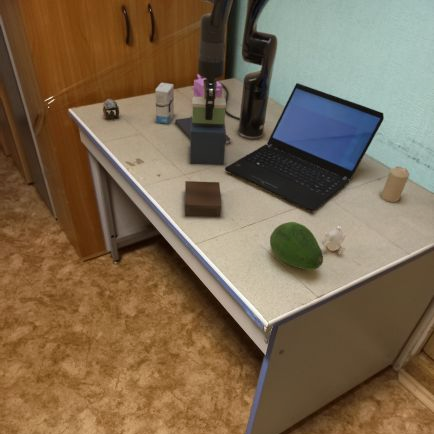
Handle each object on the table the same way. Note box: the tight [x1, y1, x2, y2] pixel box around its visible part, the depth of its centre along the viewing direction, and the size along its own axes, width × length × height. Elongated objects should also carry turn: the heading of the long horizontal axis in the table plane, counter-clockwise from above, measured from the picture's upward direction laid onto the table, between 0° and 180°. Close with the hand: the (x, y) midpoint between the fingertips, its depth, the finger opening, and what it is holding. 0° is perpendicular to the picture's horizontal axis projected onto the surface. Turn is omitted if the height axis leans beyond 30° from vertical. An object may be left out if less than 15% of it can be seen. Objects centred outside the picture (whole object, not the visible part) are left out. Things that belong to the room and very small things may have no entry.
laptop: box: [224, 82, 385, 213], centre depth 133 cm, size 33×38×19 cm
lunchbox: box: [191, 95, 227, 124], centre depth 132 cm, size 6×10×6 cm, turn 93°
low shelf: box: [184, 180, 222, 218], centre depth 121 cm, size 12×10×4 cm
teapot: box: [191, 74, 223, 98], centre depth 171 cm, size 18×13×10 cm
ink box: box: [154, 82, 175, 125], centre depth 158 cm, size 8×5×12 cm, turn 168°
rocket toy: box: [323, 224, 346, 255], centre depth 109 cm, size 5×5×8 cm
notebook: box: [174, 116, 231, 145], centre depth 155 cm, size 13×2×21 cm
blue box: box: [189, 116, 227, 166], centre depth 139 cm, size 11×11×11 cm
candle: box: [380, 165, 410, 203], centre depth 129 cm, size 6×6×10 cm
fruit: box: [269, 221, 324, 271], centre depth 104 cm, size 15×10×10 cm, turn 33°
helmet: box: [102, 98, 120, 120], centre depth 157 cm, size 6×8×7 cm
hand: (208, 115), depth 133 cm, fingers closed on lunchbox, 6 cm apart
